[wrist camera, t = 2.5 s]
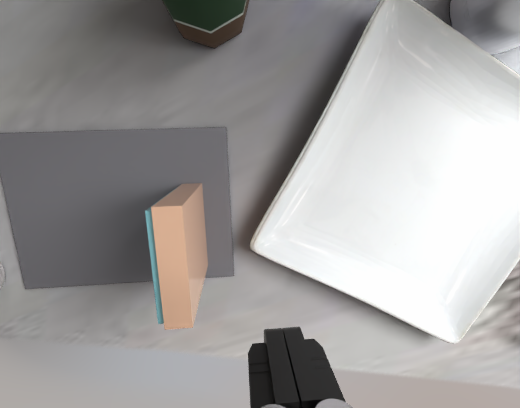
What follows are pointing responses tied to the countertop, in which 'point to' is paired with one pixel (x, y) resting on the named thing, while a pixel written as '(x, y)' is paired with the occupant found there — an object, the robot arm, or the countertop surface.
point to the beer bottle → (208, 19)
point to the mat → (108, 200)
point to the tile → (178, 254)
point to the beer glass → (2, 275)
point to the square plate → (408, 177)
